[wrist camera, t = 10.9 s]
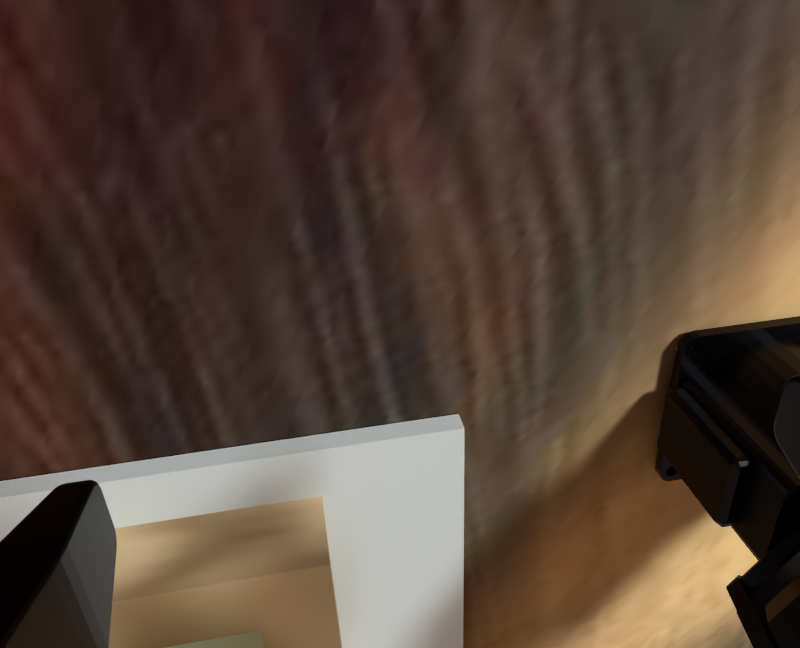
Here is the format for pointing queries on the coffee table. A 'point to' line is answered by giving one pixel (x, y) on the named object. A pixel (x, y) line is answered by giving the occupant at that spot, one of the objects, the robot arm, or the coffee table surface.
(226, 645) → the top block
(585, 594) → the coffee table surface
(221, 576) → the base block
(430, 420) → the white rectangular plate
